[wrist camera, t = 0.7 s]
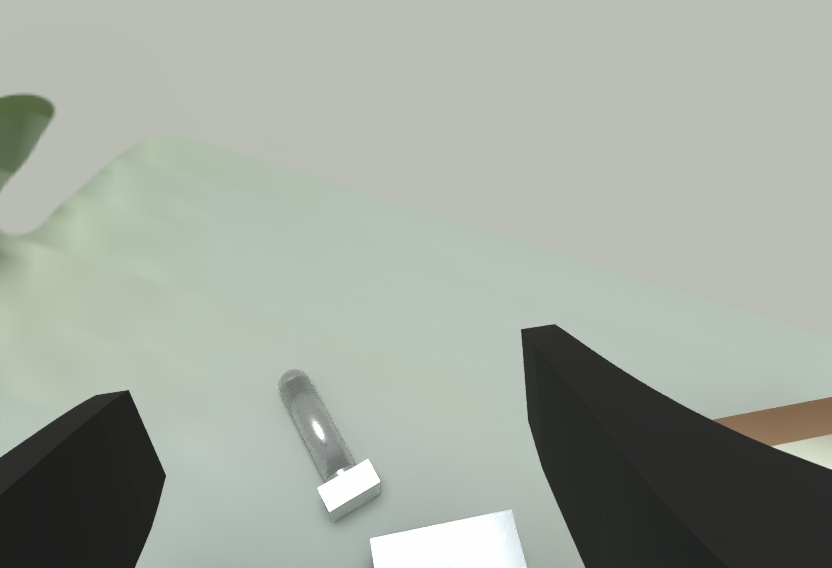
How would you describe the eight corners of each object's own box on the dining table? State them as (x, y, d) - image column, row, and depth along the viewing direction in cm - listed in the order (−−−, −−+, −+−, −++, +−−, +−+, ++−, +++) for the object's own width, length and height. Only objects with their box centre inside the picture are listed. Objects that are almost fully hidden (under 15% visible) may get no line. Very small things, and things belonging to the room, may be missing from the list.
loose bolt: (380, 494, 24) (380, 481, 22) (333, 522, 23) (329, 511, 21) (311, 367, 27) (306, 347, 25) (268, 389, 26) (259, 370, 24)
